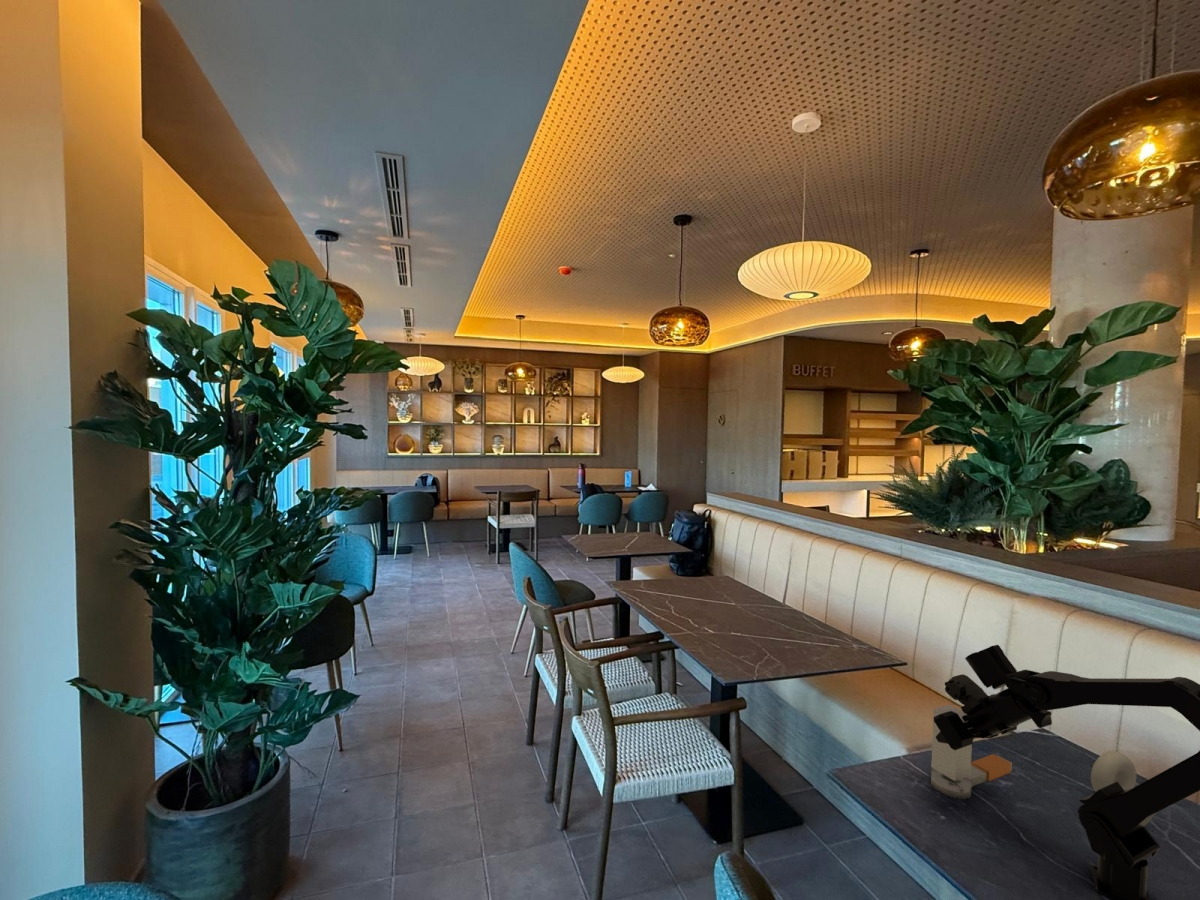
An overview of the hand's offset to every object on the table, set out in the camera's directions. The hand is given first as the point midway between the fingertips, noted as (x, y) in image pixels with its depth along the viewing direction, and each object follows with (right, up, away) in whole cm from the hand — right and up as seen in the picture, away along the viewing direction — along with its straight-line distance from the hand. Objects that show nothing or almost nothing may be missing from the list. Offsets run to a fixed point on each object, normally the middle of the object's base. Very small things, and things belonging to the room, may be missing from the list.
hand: (945, 736), depth 115 cm
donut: (+32, -11, -4) cm, 34 cm away
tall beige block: (0, -7, -1) cm, 7 cm away
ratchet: (+7, -10, +2) cm, 13 cm away
